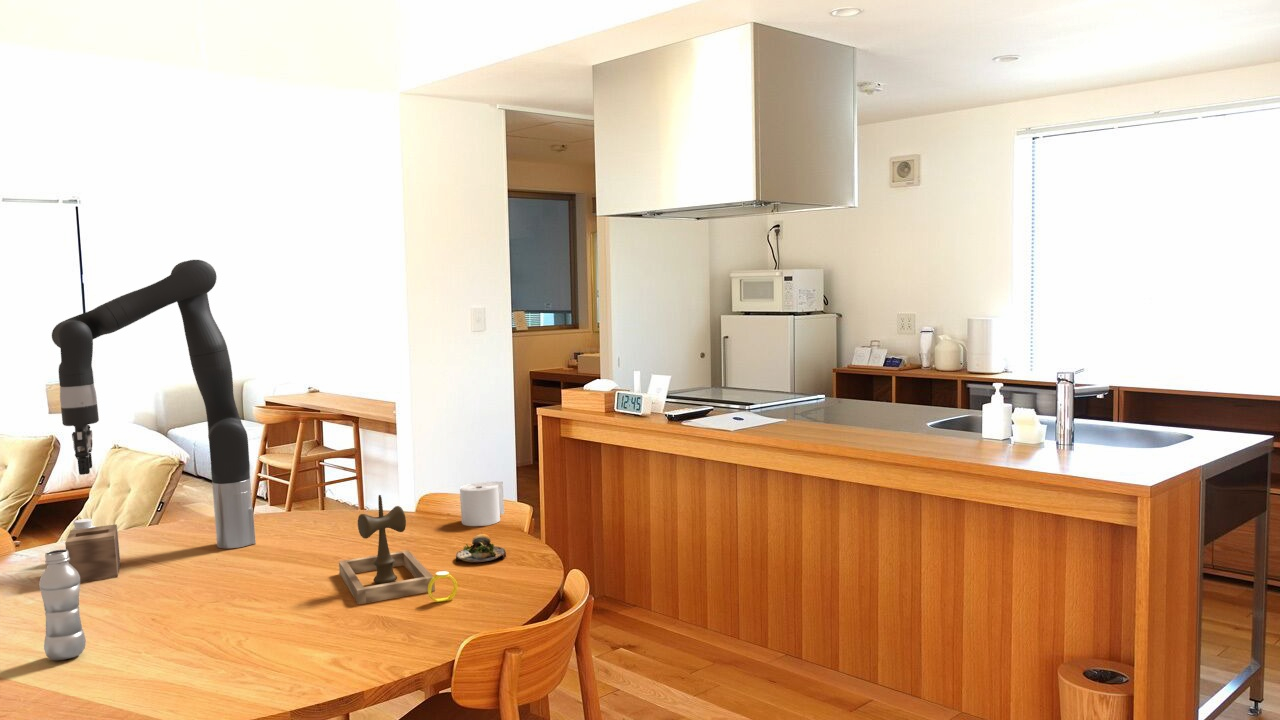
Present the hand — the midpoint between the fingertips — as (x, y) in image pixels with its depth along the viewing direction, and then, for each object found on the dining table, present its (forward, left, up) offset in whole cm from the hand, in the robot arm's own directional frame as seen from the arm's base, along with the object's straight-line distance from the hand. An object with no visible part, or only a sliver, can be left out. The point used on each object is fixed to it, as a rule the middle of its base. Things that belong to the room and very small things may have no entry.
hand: (85, 471), depth 231 cm
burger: (-84, +41, -26) cm, 97 cm away
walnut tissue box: (0, 0, -25) cm, 25 cm away
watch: (-68, +67, -25) cm, 99 cm away
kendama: (-60, +47, -25) cm, 80 cm away
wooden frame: (-60, +47, -25) cm, 80 cm away
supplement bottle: (+3, -16, -25) cm, 30 cm away
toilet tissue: (-95, +5, -25) cm, 98 cm away
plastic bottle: (+1, +60, -25) cm, 65 cm away
